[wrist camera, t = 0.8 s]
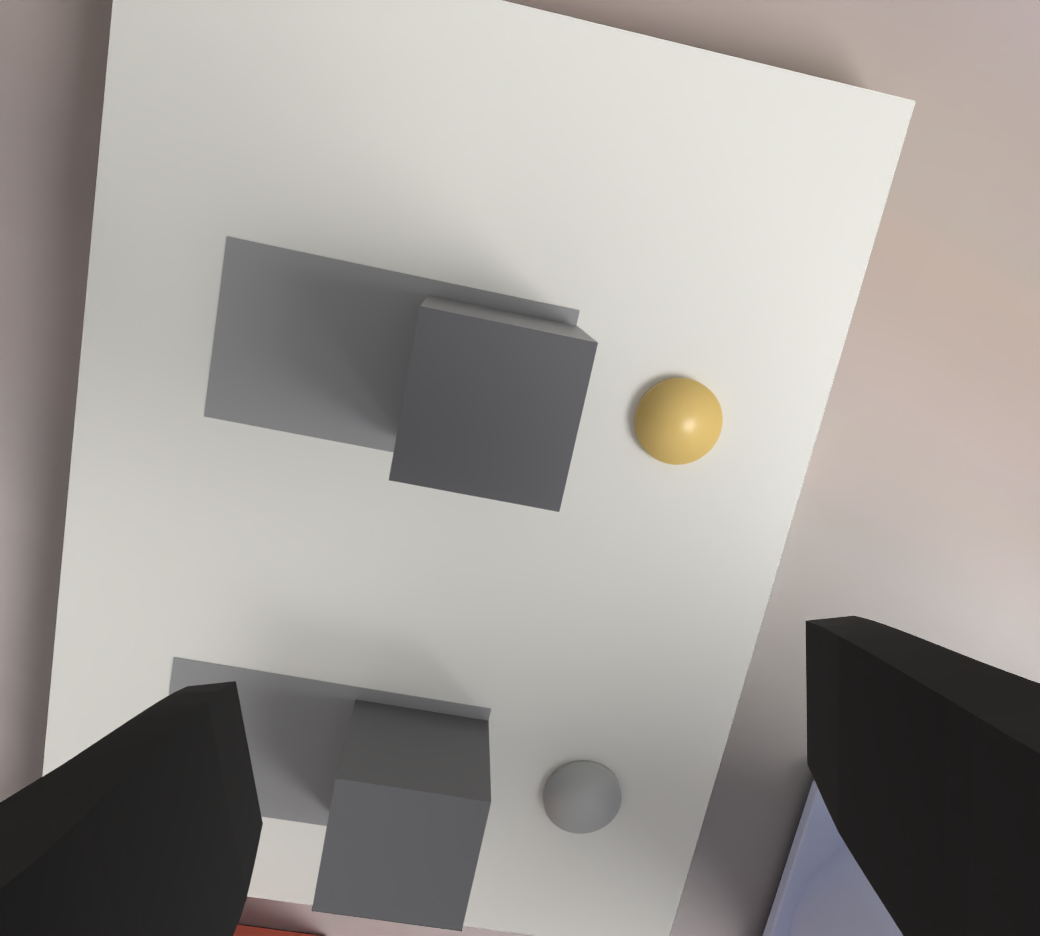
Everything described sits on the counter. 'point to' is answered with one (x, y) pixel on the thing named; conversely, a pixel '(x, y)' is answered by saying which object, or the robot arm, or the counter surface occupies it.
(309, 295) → the breaker panel
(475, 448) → the block
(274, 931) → the coral red cube
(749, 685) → the counter surface
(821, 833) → the robot arm
